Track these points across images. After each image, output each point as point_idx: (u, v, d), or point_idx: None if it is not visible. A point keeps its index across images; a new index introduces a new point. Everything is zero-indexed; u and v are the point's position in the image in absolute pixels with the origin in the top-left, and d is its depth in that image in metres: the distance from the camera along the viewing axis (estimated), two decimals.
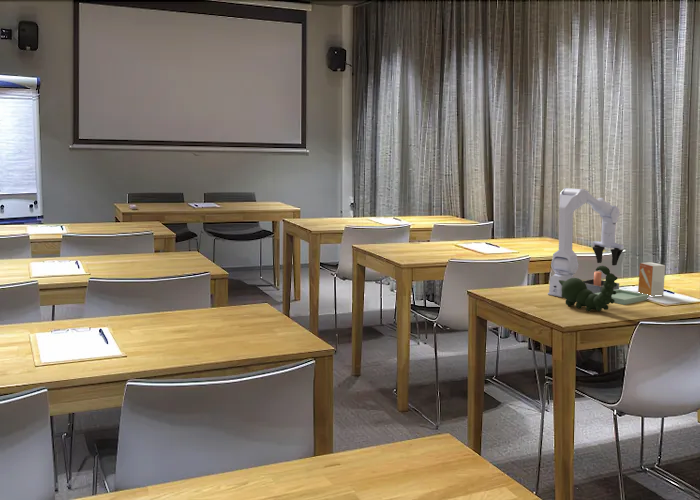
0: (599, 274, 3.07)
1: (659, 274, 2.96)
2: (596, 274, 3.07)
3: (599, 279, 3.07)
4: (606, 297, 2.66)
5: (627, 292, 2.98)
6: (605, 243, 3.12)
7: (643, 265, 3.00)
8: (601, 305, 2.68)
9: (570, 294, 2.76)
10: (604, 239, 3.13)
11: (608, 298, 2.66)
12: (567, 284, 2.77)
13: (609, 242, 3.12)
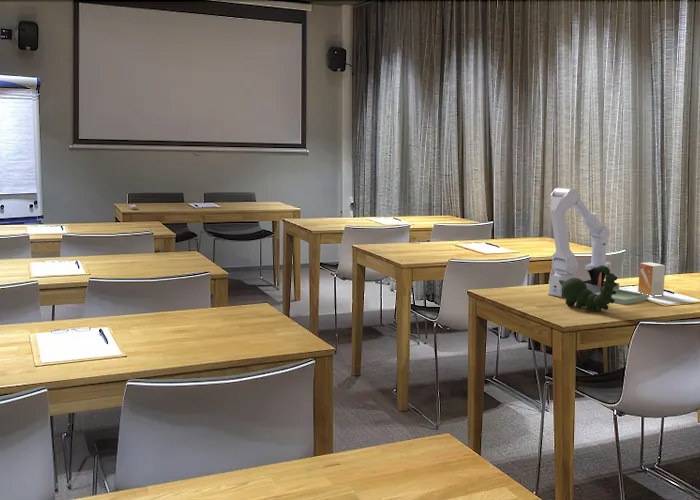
0: None
1: (659, 274, 2.96)
2: None
3: (599, 279, 3.07)
4: (606, 297, 2.66)
5: (627, 292, 2.98)
6: None
7: (642, 265, 3.00)
8: (601, 305, 2.68)
9: (570, 294, 2.76)
10: None
11: (608, 298, 2.66)
12: (567, 284, 2.77)
13: (591, 262, 3.08)
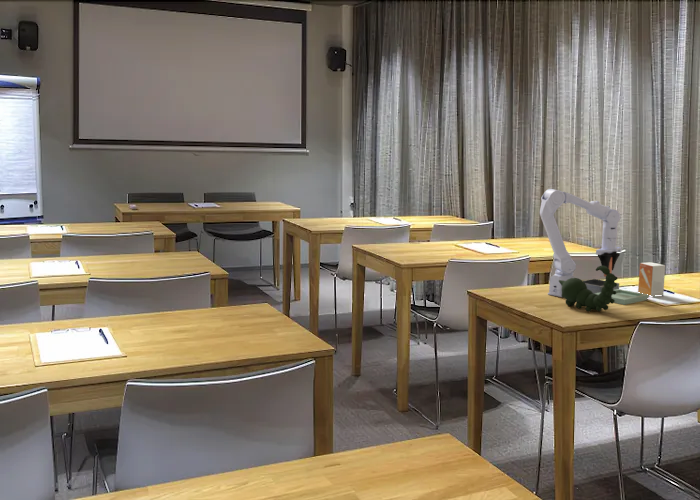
0: (610, 259, 2.99)
1: (659, 274, 2.96)
2: None
3: (610, 264, 2.99)
4: (606, 297, 2.66)
5: (627, 292, 2.98)
6: None
7: (643, 265, 3.00)
8: (601, 305, 2.68)
9: (570, 294, 2.76)
10: None
11: (608, 298, 2.66)
12: (567, 284, 2.77)
13: (602, 246, 3.00)
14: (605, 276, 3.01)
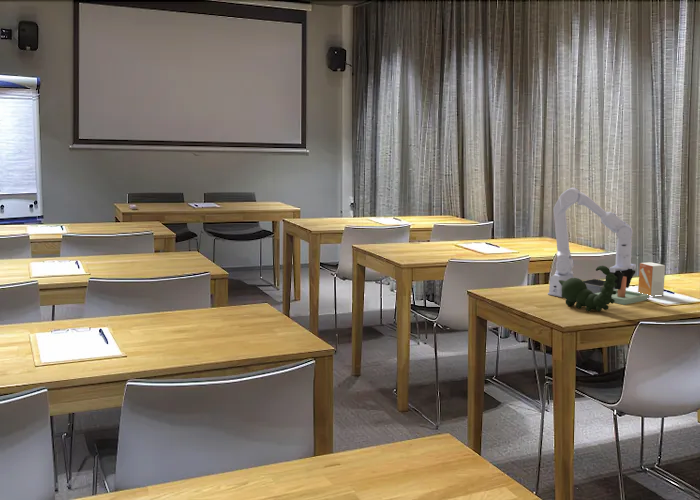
0: (624, 279, 2.91)
1: (659, 274, 2.96)
2: None
3: (624, 284, 2.91)
4: (606, 297, 2.66)
5: (627, 292, 2.98)
6: None
7: (642, 265, 3.00)
8: (601, 305, 2.68)
9: (570, 294, 2.76)
10: None
11: (608, 298, 2.66)
12: (567, 284, 2.77)
13: (615, 264, 2.91)
14: (619, 296, 2.92)
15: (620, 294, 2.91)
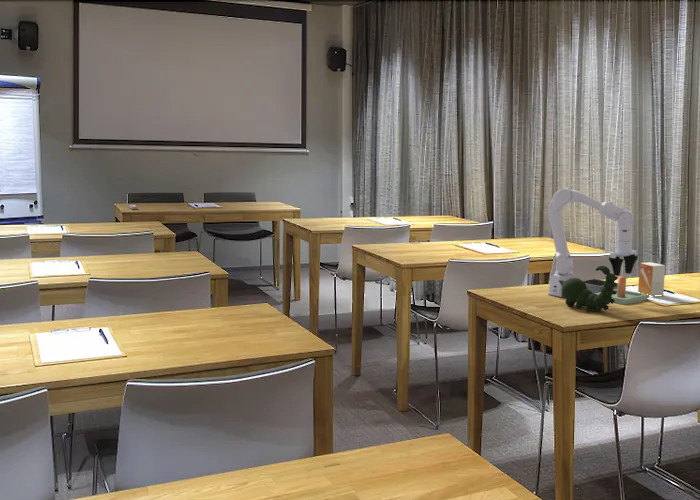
0: (623, 279, 2.90)
1: (659, 274, 2.96)
2: (620, 279, 2.91)
3: (624, 284, 2.91)
4: (606, 297, 2.66)
5: (627, 292, 2.98)
6: None
7: (643, 265, 3.00)
8: (601, 305, 2.68)
9: (570, 294, 2.76)
10: None
11: (608, 298, 2.66)
12: (567, 284, 2.77)
13: (616, 249, 2.90)
14: (619, 296, 2.92)
15: (620, 295, 2.91)
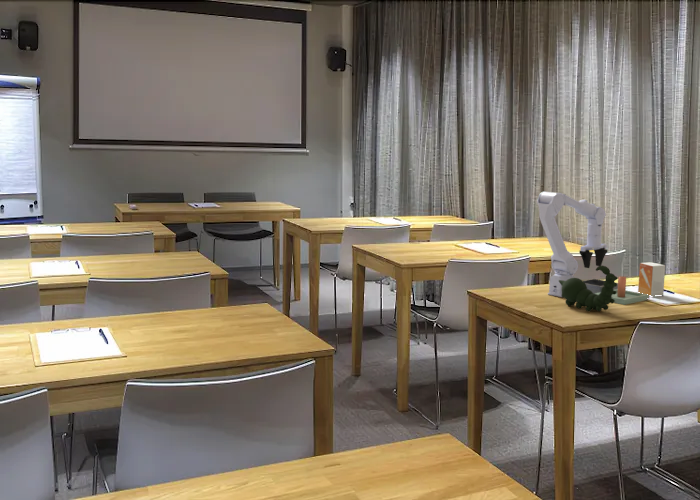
0: (623, 279, 2.90)
1: (659, 274, 2.96)
2: (620, 279, 2.91)
3: (624, 284, 2.91)
4: (606, 297, 2.66)
5: (627, 292, 2.98)
6: None
7: (643, 265, 3.00)
8: (601, 305, 2.68)
9: (570, 294, 2.76)
10: None
11: (608, 298, 2.66)
12: (567, 284, 2.77)
13: None
14: (619, 296, 2.92)
15: (620, 295, 2.91)
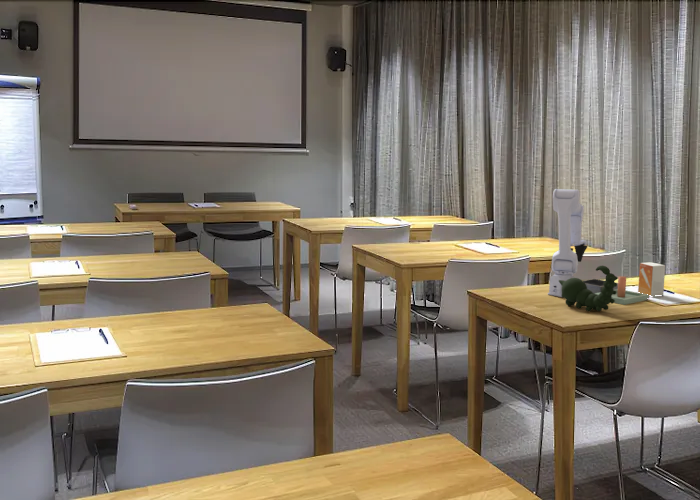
0: (624, 279, 2.90)
1: (659, 274, 2.96)
2: (620, 279, 2.91)
3: (624, 284, 2.91)
4: (606, 297, 2.66)
5: (627, 292, 2.98)
6: None
7: (643, 265, 3.00)
8: (601, 305, 2.68)
9: (570, 294, 2.76)
10: None
11: (608, 298, 2.66)
12: (567, 284, 2.77)
13: None
14: (619, 296, 2.92)
15: (620, 295, 2.91)
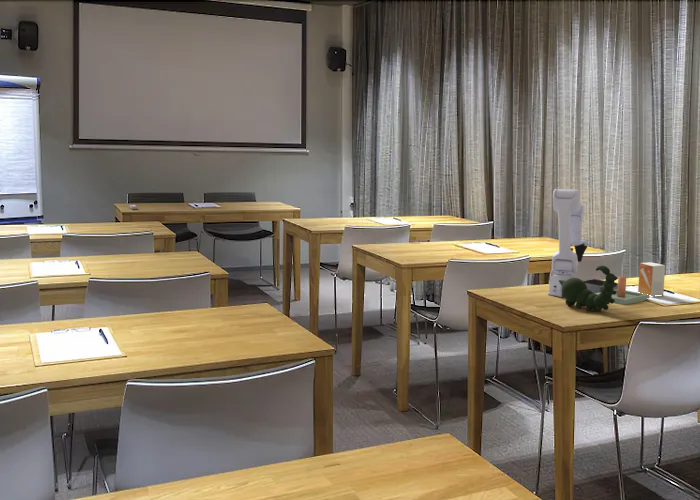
0: (624, 279, 2.90)
1: (659, 274, 2.96)
2: (620, 279, 2.91)
3: (624, 284, 2.91)
4: (606, 297, 2.66)
5: (627, 292, 2.98)
6: None
7: (642, 265, 3.00)
8: (601, 305, 2.68)
9: (570, 294, 2.76)
10: None
11: (608, 298, 2.66)
12: (567, 284, 2.77)
13: None
14: (619, 296, 2.92)
15: (620, 295, 2.91)
